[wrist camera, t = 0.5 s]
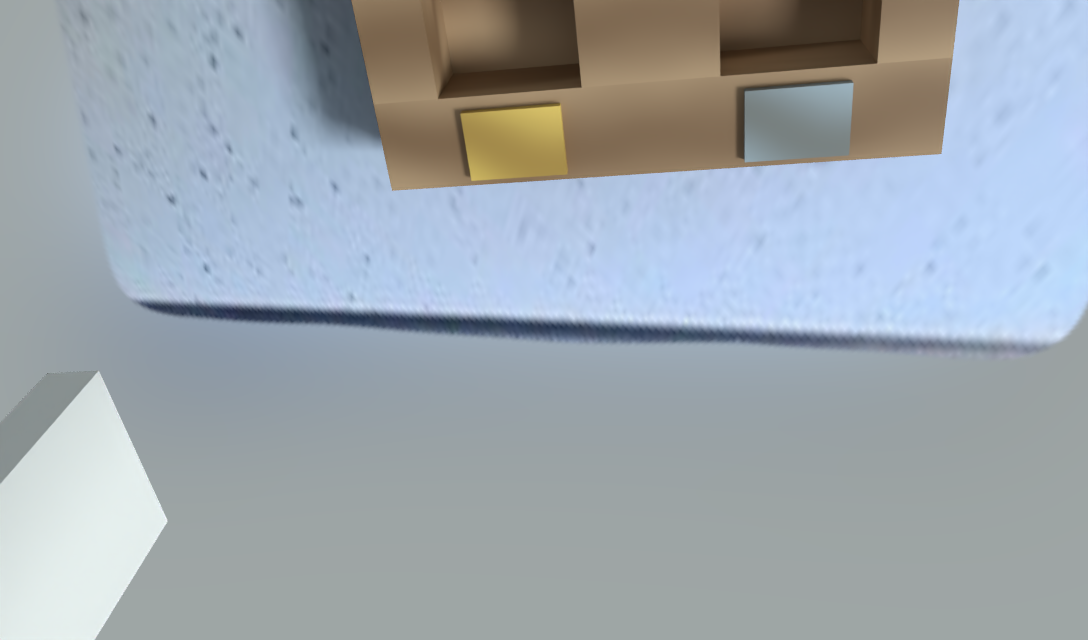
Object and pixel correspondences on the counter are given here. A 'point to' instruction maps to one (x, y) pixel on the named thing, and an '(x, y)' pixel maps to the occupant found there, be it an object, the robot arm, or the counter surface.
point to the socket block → (650, 85)
